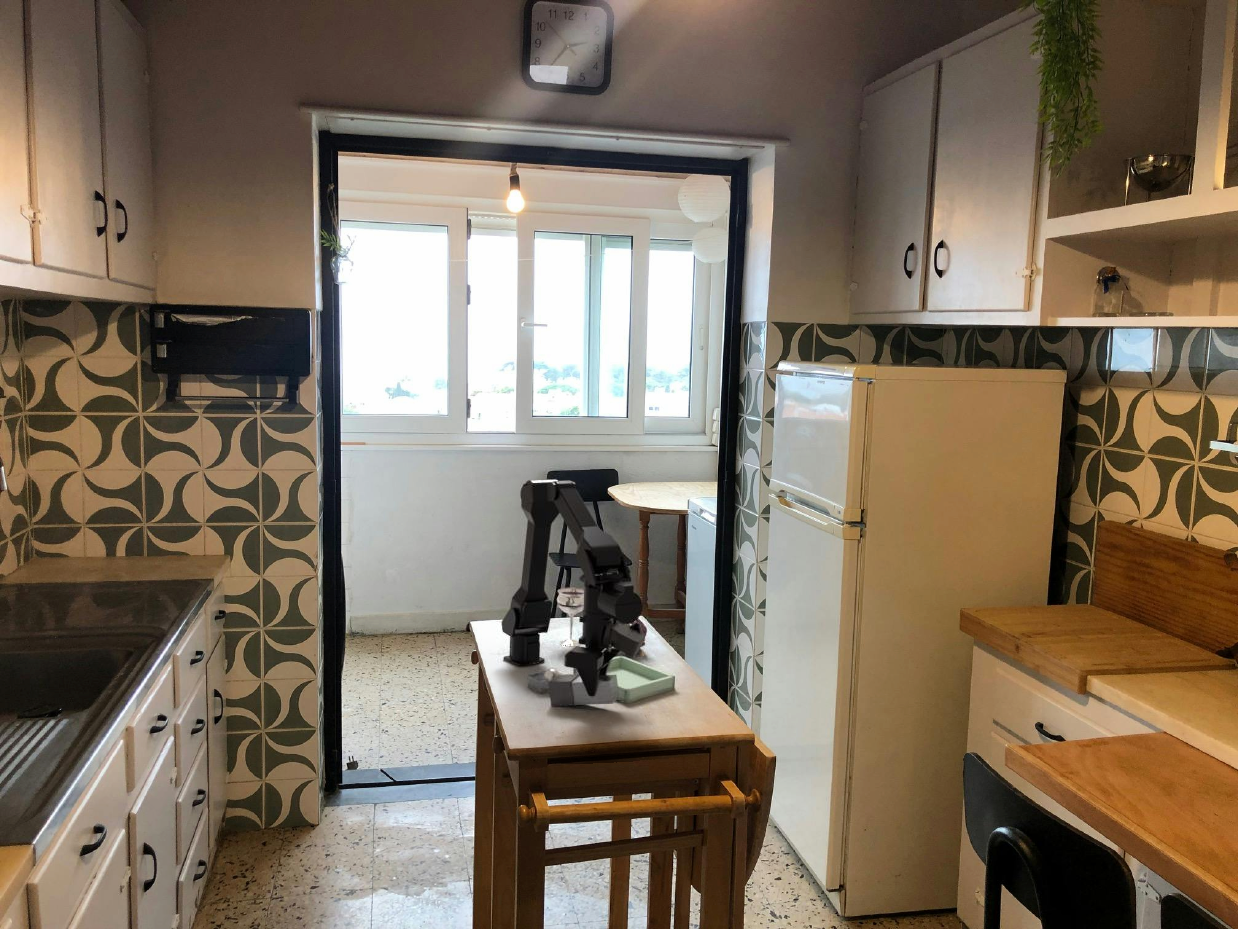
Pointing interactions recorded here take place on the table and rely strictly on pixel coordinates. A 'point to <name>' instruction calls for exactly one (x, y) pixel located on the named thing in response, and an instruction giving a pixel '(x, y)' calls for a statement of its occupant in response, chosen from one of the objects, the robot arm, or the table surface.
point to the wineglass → (571, 607)
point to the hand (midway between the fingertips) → (595, 692)
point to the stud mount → (541, 680)
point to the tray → (638, 679)
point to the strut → (582, 690)
